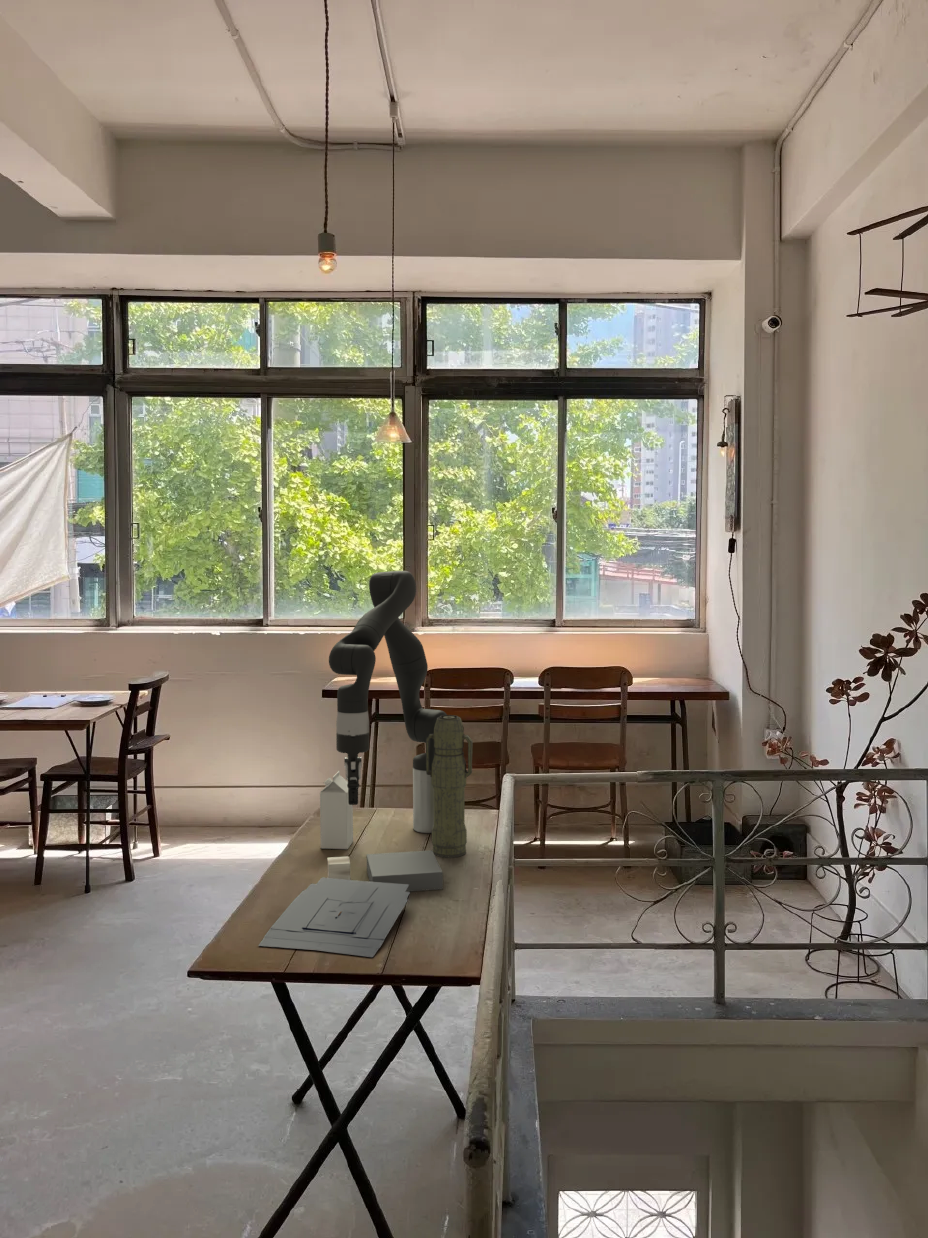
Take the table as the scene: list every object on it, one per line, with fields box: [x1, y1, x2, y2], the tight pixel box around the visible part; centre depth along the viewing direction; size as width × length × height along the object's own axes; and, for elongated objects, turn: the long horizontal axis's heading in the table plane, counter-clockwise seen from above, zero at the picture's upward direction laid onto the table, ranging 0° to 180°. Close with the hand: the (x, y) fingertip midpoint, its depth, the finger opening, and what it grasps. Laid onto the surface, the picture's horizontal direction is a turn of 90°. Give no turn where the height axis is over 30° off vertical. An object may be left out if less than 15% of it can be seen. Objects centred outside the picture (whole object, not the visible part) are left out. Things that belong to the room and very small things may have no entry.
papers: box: [258, 877, 411, 958], centre depth 205 cm, size 24×30×4 cm
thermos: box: [425, 714, 474, 859], centre depth 250 cm, size 9×12×35 cm
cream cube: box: [326, 856, 351, 880], centre depth 230 cm, size 5×5×5 cm
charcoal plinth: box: [366, 849, 444, 892], centre depth 231 cm, size 16×16×4 cm
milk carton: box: [319, 770, 354, 850], centre depth 256 cm, size 7×7×19 cm
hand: (353, 799), depth 228 cm, fingers open, 8 cm apart
